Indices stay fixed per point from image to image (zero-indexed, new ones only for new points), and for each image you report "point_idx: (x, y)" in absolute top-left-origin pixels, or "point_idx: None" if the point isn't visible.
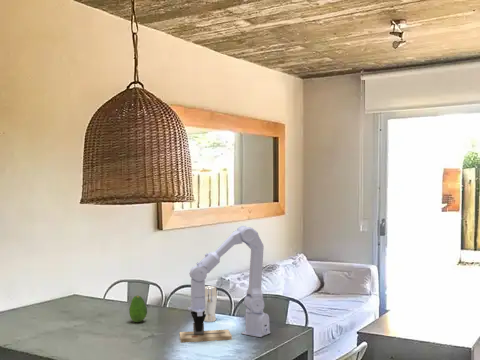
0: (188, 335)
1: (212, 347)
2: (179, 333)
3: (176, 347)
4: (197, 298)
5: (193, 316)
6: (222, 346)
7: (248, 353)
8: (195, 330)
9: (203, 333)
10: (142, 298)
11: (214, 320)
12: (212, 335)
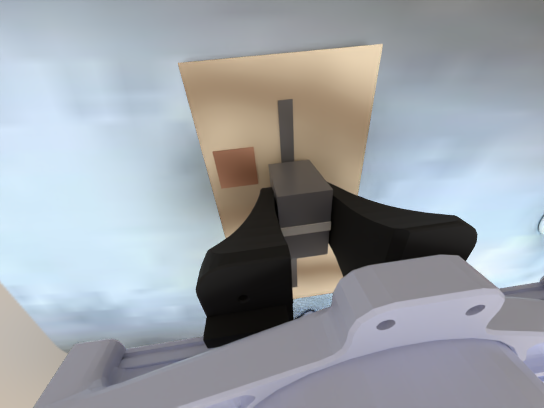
0: (270, 125)
1: (116, 243)
2: (372, 45)
3: (37, 24)
4: None
5: (203, 266)
6: (143, 274)
7: (74, 336)
8: (272, 185)
9: None
10: None
11: (541, 232)
12: None
